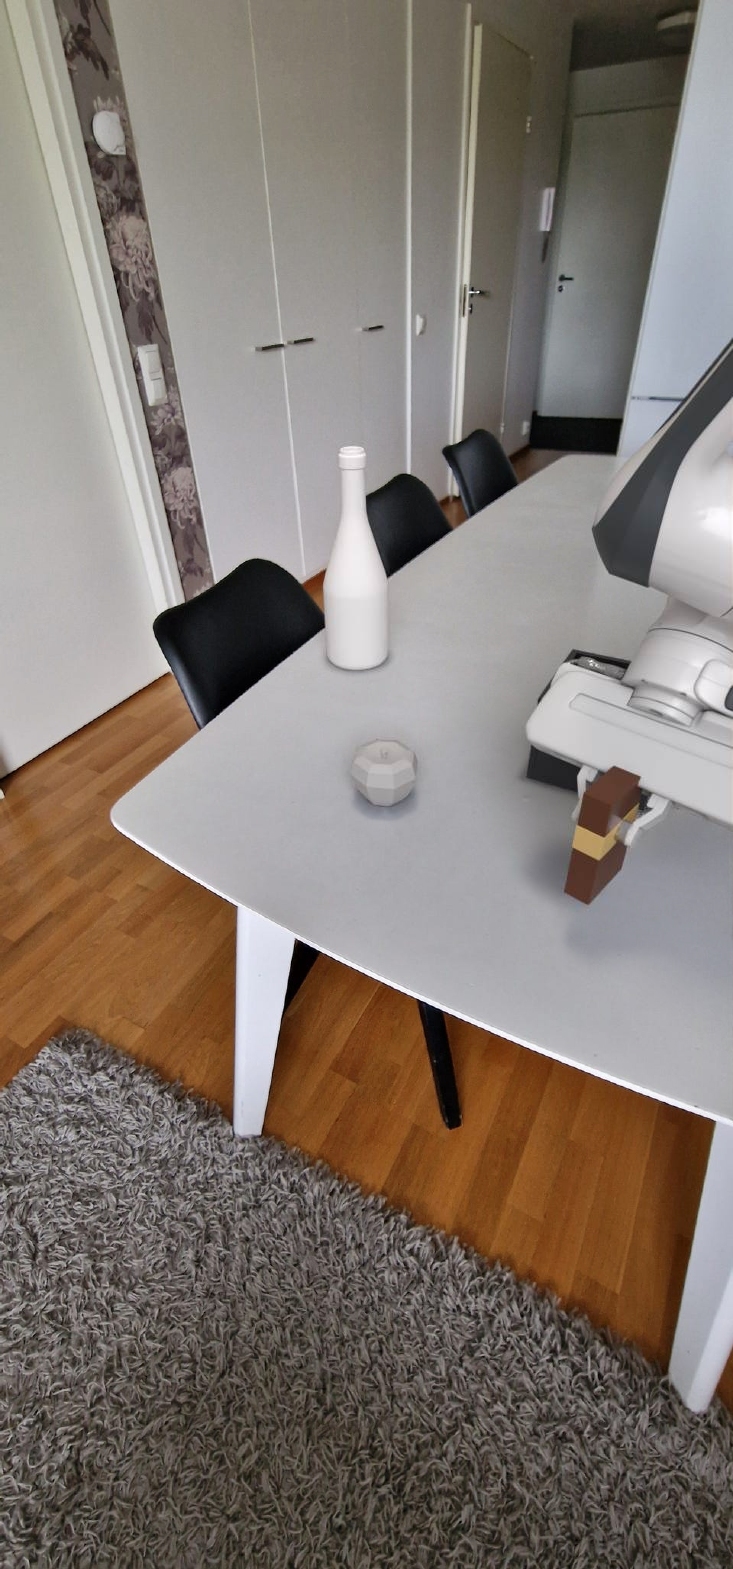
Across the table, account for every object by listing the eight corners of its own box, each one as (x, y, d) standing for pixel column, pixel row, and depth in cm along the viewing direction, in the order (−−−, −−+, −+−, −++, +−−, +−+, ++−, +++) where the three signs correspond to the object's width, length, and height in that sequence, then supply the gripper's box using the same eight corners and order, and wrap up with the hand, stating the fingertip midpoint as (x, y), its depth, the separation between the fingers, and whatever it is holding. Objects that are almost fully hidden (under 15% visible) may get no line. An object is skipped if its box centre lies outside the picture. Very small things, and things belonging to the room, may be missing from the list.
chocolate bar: (622, 869, 63) (648, 770, 57) (588, 906, 60) (612, 805, 53) (597, 856, 65) (619, 759, 58) (562, 892, 61) (582, 792, 55)
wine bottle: (392, 646, 112) (393, 441, 94) (382, 674, 105) (381, 458, 87) (334, 642, 114) (325, 440, 96) (320, 670, 106) (307, 456, 88)
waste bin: (666, 749, 88) (688, 672, 81) (643, 810, 78) (667, 728, 72) (559, 723, 93) (572, 648, 87) (526, 777, 84) (537, 698, 77)
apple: (427, 812, 79) (429, 764, 75) (359, 824, 77) (358, 776, 73) (406, 771, 85) (407, 725, 81) (343, 782, 83) (341, 736, 80)
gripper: (558, 636, 61) (484, 776, 62) (811, 715, 50) (720, 886, 50) (576, 664, 67) (508, 793, 67) (809, 741, 55) (726, 896, 55)
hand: (601, 834), depth 59 cm, fingers closed on chocolate bar, 2 cm apart
